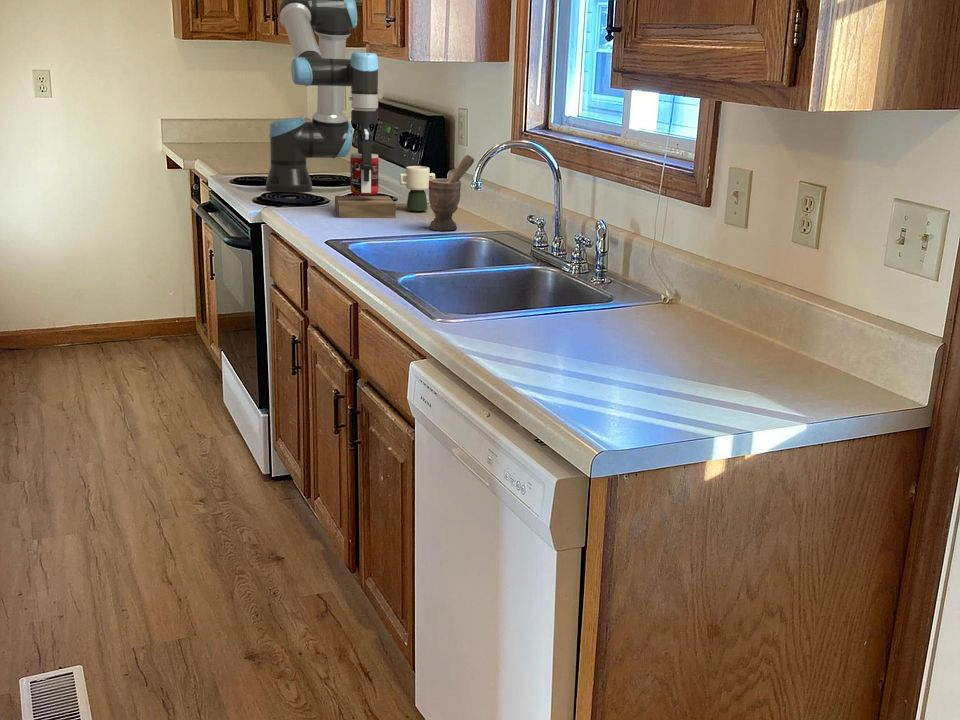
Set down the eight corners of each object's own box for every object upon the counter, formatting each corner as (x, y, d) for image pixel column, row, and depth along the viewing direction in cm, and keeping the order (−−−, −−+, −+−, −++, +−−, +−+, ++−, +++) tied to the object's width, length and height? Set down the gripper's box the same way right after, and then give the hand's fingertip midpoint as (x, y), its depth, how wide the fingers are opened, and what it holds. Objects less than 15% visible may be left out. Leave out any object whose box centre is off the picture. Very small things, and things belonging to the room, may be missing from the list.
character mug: (430, 209, 304) (431, 165, 300) (438, 212, 298) (438, 168, 294) (396, 210, 301) (396, 166, 297) (402, 213, 294) (403, 168, 290)
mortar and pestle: (461, 225, 277) (463, 152, 272) (475, 230, 270) (477, 155, 264) (423, 227, 272) (424, 152, 266) (436, 232, 265) (437, 155, 259)
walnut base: (335, 209, 298) (334, 195, 297) (388, 209, 301) (388, 195, 300) (339, 217, 283) (339, 203, 282) (395, 217, 286) (395, 203, 285)
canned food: (347, 191, 292) (346, 153, 289) (373, 191, 295) (373, 153, 292) (355, 195, 286) (355, 156, 282) (382, 194, 289) (382, 155, 286)
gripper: (348, 107, 292) (348, 186, 299) (354, 111, 273) (354, 195, 280) (373, 107, 294) (373, 186, 301) (382, 112, 275) (381, 195, 282)
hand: (364, 190), depth 290 cm, fingers closed on canned food, 8 cm apart
